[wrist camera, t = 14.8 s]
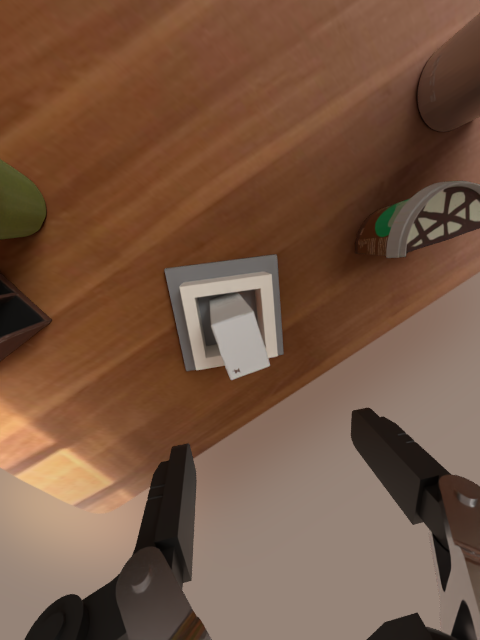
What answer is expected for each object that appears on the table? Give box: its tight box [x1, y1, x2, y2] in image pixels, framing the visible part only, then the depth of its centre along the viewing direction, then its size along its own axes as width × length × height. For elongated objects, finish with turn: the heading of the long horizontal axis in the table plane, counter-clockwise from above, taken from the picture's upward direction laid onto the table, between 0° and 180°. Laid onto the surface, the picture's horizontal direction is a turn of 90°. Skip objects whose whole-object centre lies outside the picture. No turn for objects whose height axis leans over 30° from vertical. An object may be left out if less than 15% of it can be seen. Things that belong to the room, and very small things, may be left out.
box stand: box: [164, 254, 283, 371], centre depth 31 cm, size 15×15×6 cm
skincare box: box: [209, 292, 270, 380], centre depth 26 cm, size 6×4×12 cm
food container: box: [355, 181, 480, 258], centre depth 28 cm, size 12×6×10 cm, turn 108°
